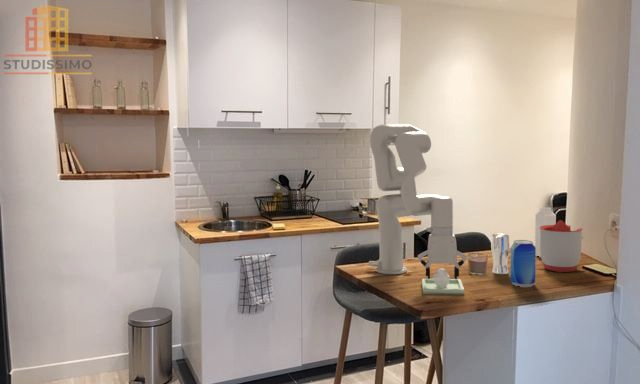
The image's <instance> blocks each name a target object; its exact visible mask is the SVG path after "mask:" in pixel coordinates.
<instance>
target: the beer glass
mask: <svg viewBox="0 0 640 384" xmlns="http://www.w3.org/2000/svg"><path fill="white" fill-rule="evenodd" d="M490 243H491V244H490V248H491V257H492V262H493V263H492V264H493V266H492V271H491V272H492V273H493V274H495V275H507V274H509V269H508V268H509V267H508V260H509V256H510V251H511V246H510V235H509V234H505V233H504V234H503V233H494V234H491V242H490Z"/></svg>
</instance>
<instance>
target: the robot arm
mask: <svg viewBox="0 0 640 384" xmlns="http://www.w3.org/2000/svg"><path fill="white" fill-rule="evenodd" d="M369 145H370V149H371V152H372V155H373V159H374V169H375V175H376V184H377V187H378V189H379V190H380V191H382V192H397V191H398V192H399V193H393V194H384V195H381V196H380V197H378V199H377V201H376V202H375V203H376V204H375V211H376V213H377V219H378V235H379V236H378V238H379V239H378V240H379V242H378V243H379V245H378V246H379V248H378V249H379V259H377V260H369V261H368V266H371V267H376V269H375V271H376V272H377V274H378V273H379V274H383V275H401V274H406V273H407V270H408V268H407V267H406V266H404V243H403V242H404V241H403V239H404V238H403V236H404V235H403V226H402V223H401V222H400V221H399V218H401V217H403V218H404V217H411V216H413V217H420V216H430V227H426V232H427V233H428V232H429V233H430V234H429V235H428V242H427V250H425V251H423V252H421V253H419V254H417V259H418V260H419V262H420V264H422V266H424V267H425V276H426V277H427V279H431V267H430V266H431V265H432V264H437V265H439V264H441V265H443V264H444V265H445V264H446V265H447V264H450V265H451V264H453V266H454V267H453V269H454V270H453V271H454V272H453V273H454V276H453V277H454V278H453V279H458V277H460V267H462V266H463V264H465V262H466V260H467V257H468V256H467V255H466V254H465V253H463V252H461V251H459V250H457V239H456V235H455V234H454V233H453V230H454V229H453V224H454V223H453V221H454V220H453V219H454V217H453V216H454V213H453V208H454V207H453V199H452V198H451V197H450V196H445V195H444V196H443V195H439V194H437V193H436V194H435V193H428V194H417V193H418V192H417V186H416V178H417V177H419V176H420V175H422V174H424V173H425V171H426V170H427V164H426V161H425V158H424V155H423V154H427V153H428V152H429V151H430V150H431V148H432V142H431V137H430V136H429V134H428V133H427V132H425V130H421V129H420V128H418V127H415V126H413V125H411V124H409V123H395V124H394V123H386V124H379V125H376V126H375V127H374V128H372V130H371V133H370V135H369ZM389 146H395V149H396V152H397V154H398V157H399V161H400V164H401V166H402V167H397V166H398V165H397V163H396V156H395V153H394V152H393V150H392V149H390V147H389ZM425 256H426V257H427V261H425V260H424V257H425ZM458 257H461V259H460V260H459V261H458Z"/></svg>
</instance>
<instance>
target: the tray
mask: <svg viewBox="0 0 640 384" xmlns="http://www.w3.org/2000/svg"><path fill="white" fill-rule="evenodd" d="M421 286H422V294H423V295H456V296H457V295H458V296H459V295H460V296H462V295H465V288H464V285H463V282H462V279H461V278H457V279H455V278H450V280H449V283H448V285H447V287H446V288H438V287H437V286H436V284H435V282H434V279H433V278H430V279H428V278H421Z"/></svg>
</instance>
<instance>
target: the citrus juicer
mask: <svg viewBox="0 0 640 384" xmlns="http://www.w3.org/2000/svg"><path fill="white" fill-rule="evenodd" d="M582 230H583V228H582V227H580V228H577V229H576V230H572V228H571V225H569V224H566V223H565V222H564V221H563V220H560V219H559V220H558V221H556V224H555V225H544V226H541V227H540V253H541V257H540V258H541V261H542V265H543V268H544V269H545V270H548V271H553V272H556V273H567V272H574V271H576V270H577V268H578V267H579V263H580V260H581V256H582V240H583V239H584V236H583V235H582V233H583V232H582Z"/></svg>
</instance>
